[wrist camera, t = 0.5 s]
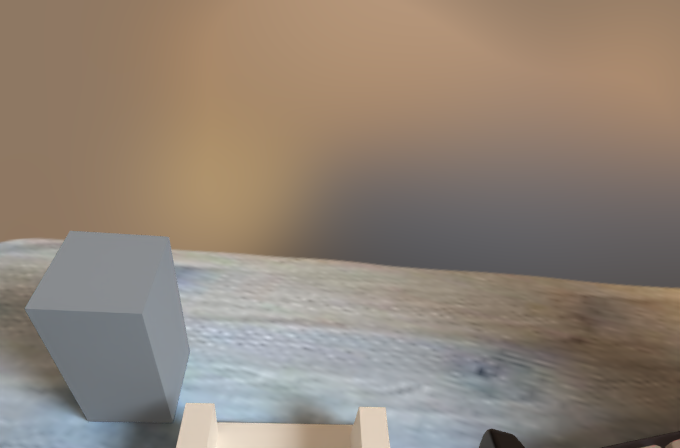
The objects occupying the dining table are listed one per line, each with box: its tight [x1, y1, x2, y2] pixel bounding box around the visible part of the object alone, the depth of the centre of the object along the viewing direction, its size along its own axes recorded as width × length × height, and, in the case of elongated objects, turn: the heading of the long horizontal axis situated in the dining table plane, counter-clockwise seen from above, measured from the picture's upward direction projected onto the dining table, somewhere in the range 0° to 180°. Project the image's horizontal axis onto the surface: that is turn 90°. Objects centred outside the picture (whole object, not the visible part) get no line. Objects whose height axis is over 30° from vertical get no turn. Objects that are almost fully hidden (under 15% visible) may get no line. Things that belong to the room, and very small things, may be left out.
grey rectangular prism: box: [24, 231, 190, 423], centre depth 21 cm, size 4×4×9 cm
